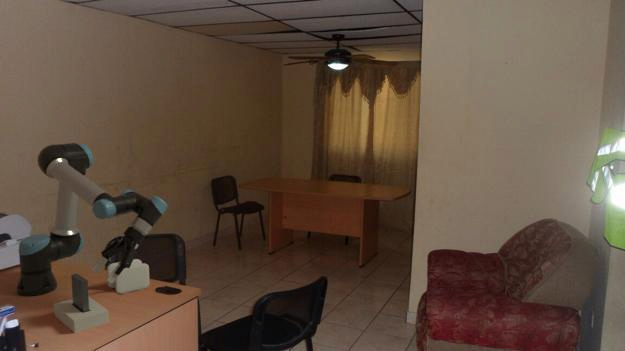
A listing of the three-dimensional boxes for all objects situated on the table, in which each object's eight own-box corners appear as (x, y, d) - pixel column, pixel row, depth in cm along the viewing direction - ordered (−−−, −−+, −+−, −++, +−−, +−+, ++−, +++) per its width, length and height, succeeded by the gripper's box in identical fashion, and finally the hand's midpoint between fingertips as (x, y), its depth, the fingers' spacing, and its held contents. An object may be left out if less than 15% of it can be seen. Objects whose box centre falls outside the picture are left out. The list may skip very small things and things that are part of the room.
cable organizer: (115, 296, 199) (114, 270, 197) (107, 288, 207) (106, 263, 205) (149, 288, 209) (149, 263, 207) (141, 281, 217) (140, 257, 215)
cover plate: (73, 315, 177) (71, 274, 175) (79, 313, 178) (77, 273, 176) (84, 323, 170) (81, 281, 168) (89, 322, 172) (87, 280, 169)
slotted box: (54, 318, 177) (53, 303, 176) (87, 309, 186) (86, 295, 185) (75, 337, 163) (74, 320, 163) (109, 326, 172) (108, 310, 171)
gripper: (159, 242, 180) (123, 290, 171) (129, 230, 196) (95, 273, 188) (146, 231, 175) (108, 280, 166) (116, 220, 192) (80, 263, 183)
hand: (101, 276), depth 177 cm, fingers open, 13 cm apart
